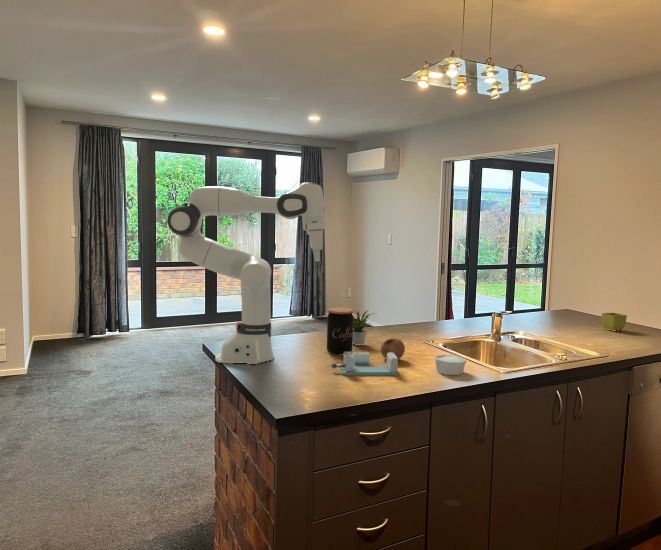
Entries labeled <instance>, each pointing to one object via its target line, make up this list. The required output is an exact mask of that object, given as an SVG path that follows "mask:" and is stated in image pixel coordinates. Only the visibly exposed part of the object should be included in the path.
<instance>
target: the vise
mask: <svg viewBox="0 0 661 550" xmlns="http://www.w3.org/2000/svg"><path fill="white" fill-rule="evenodd" d="M385 361H386V364H385V365H369V366H355V367H354V370H353V371H346V370H345V368H340V371H341V374H342V376H399V375H400V373H399V371H398V366H399V365H398V364H399V363H398V362H399V359H398V358H397V357H396V355H395V354H394V353H388V354H387V359H385Z"/></svg>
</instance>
